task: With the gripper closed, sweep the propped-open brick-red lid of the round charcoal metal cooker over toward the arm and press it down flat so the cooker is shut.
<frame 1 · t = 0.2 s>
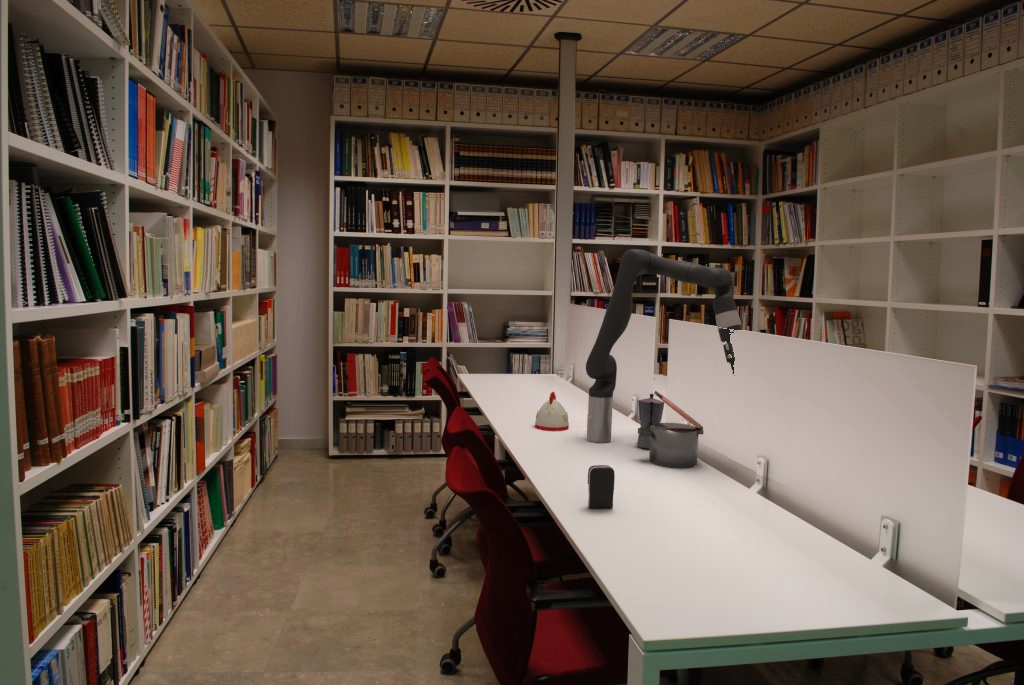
hand: (741, 373, 230), 32 cm above the table, tool tilted 20°, fingers open, 8 cm apart
kitchen timer: (551, 428, 290), on the table
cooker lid: (678, 410, 238), point 18 cm above the table, hinge at 35.9°, touching cooker pot
moka pot: (649, 448, 260), on the table
battery charger: (599, 507, 190), on the table
cooker pot: (672, 462, 239), on the table
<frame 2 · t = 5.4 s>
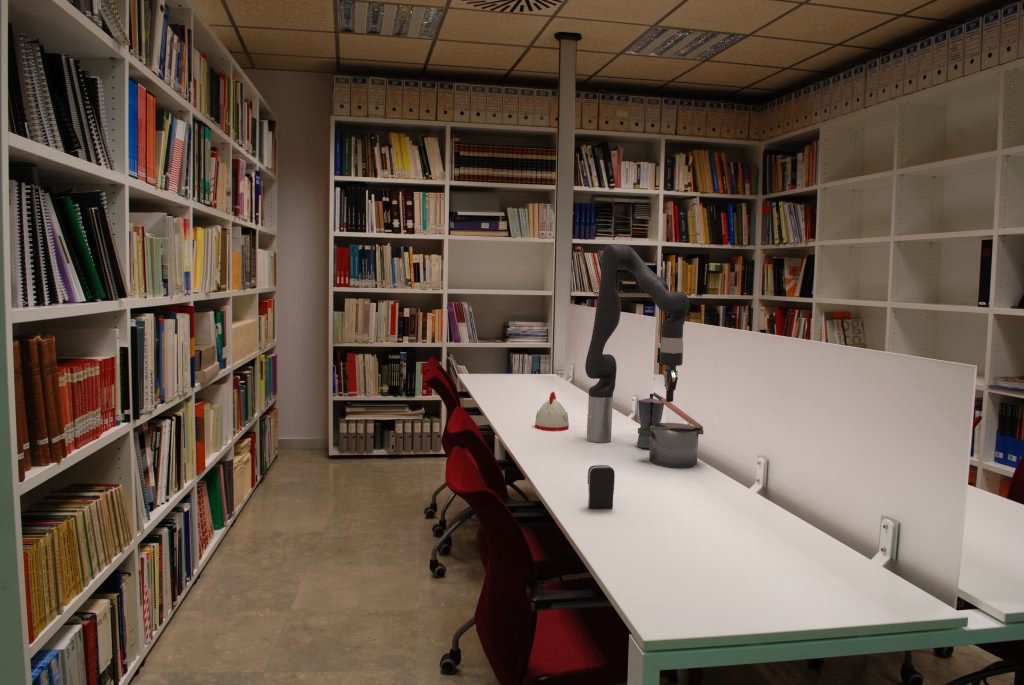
hand: (669, 401, 238), 21 cm above the table, tool pointing down, fingers closed
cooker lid: (677, 411, 238), point 18 cm above the table, hinge at 33.8°, touching cooker pot, gripper
everything else where it was.
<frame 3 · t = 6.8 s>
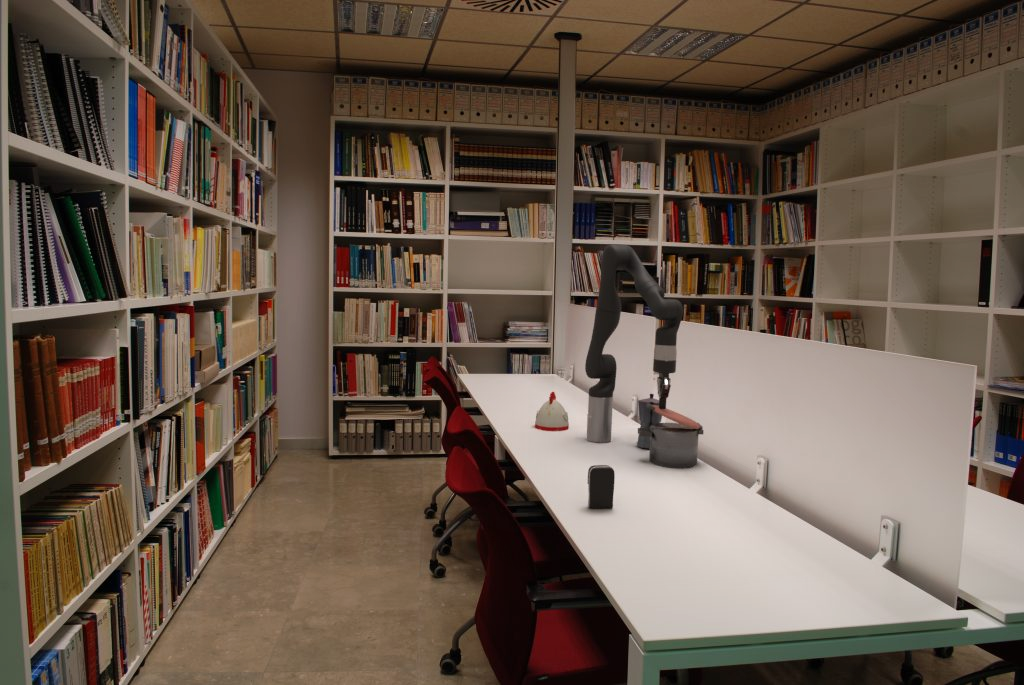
hand: (662, 408, 238), 18 cm above the table, tool pointing down, fingers closed
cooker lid: (674, 416, 238), point 16 cm above the table, hinge at 20.2°, touching gripper
everything else where it was.
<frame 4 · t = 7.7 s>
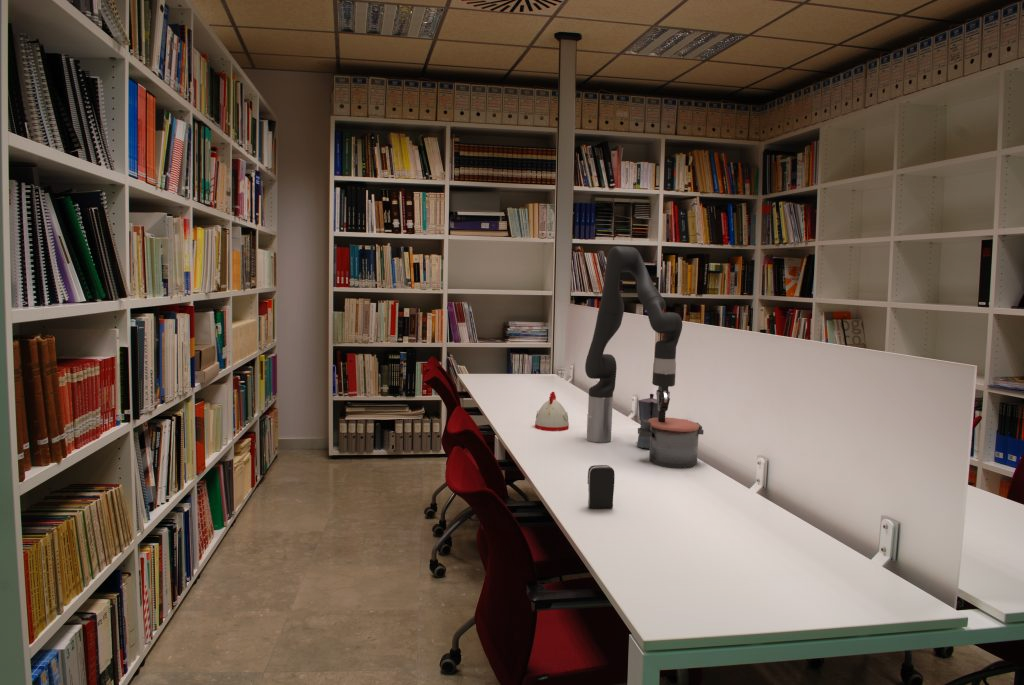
hand: (661, 421, 238), 14 cm above the table, tool pointing down, fingers closed
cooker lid: (671, 424, 238), point 13 cm above the table, hinge at 2.0°, touching gripper
everything else where it was.
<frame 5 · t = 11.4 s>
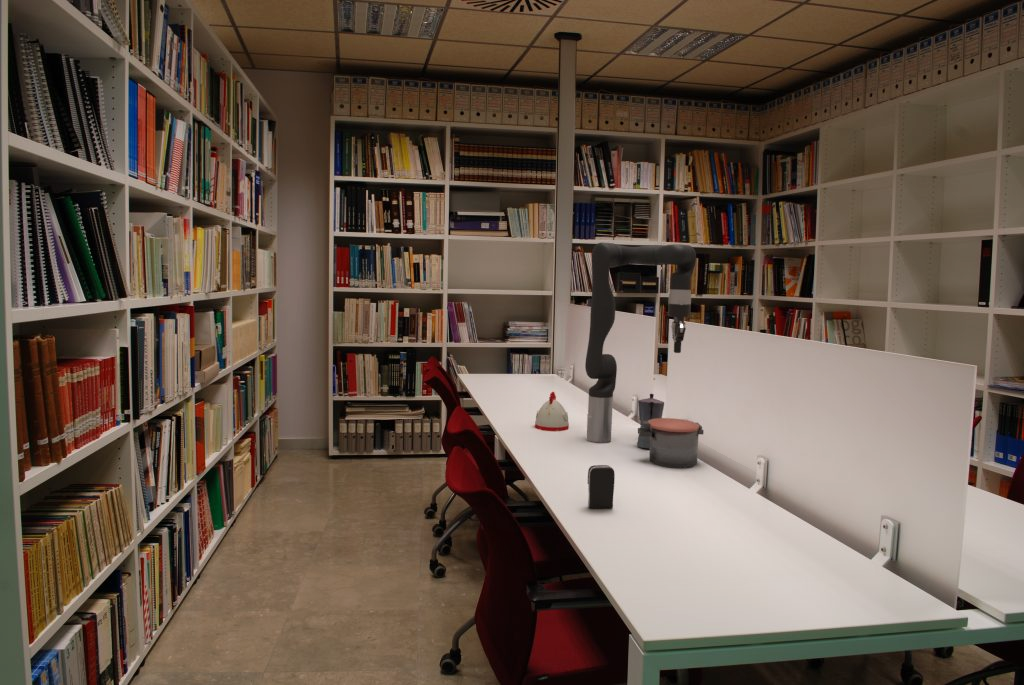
hand: (677, 352, 243), 37 cm above the table, tool pointing down, fingers closed
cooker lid: (671, 424, 238), point 13 cm above the table, hinge at 0.6°
everything else where it was.
at the end: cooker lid at +1° (first picture: +37°) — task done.
